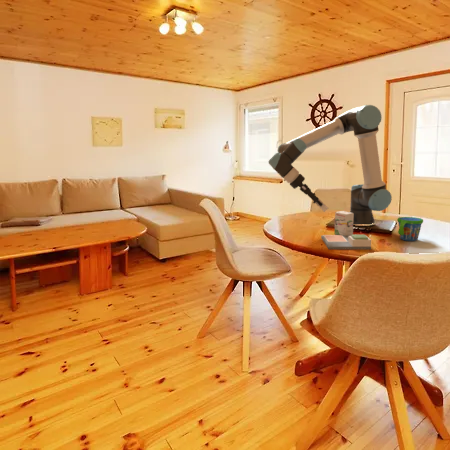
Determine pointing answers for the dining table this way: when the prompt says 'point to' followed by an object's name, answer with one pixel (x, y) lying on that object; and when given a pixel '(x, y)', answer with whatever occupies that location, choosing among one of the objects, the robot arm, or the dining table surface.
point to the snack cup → (409, 228)
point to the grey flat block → (345, 242)
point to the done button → (359, 237)
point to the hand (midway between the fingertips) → (324, 207)
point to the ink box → (344, 223)
